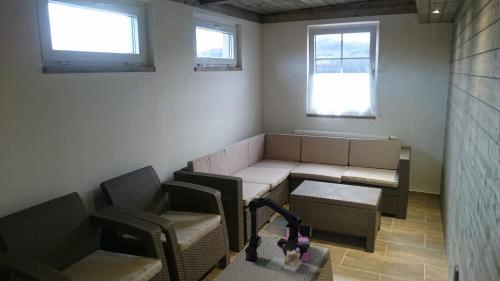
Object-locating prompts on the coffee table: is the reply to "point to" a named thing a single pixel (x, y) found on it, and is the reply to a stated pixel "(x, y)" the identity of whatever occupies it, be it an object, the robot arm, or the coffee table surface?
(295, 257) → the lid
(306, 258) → the gum box
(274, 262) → the mat
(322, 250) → the coffee table surface
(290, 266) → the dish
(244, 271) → the coffee table surface
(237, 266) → the coffee table surface
